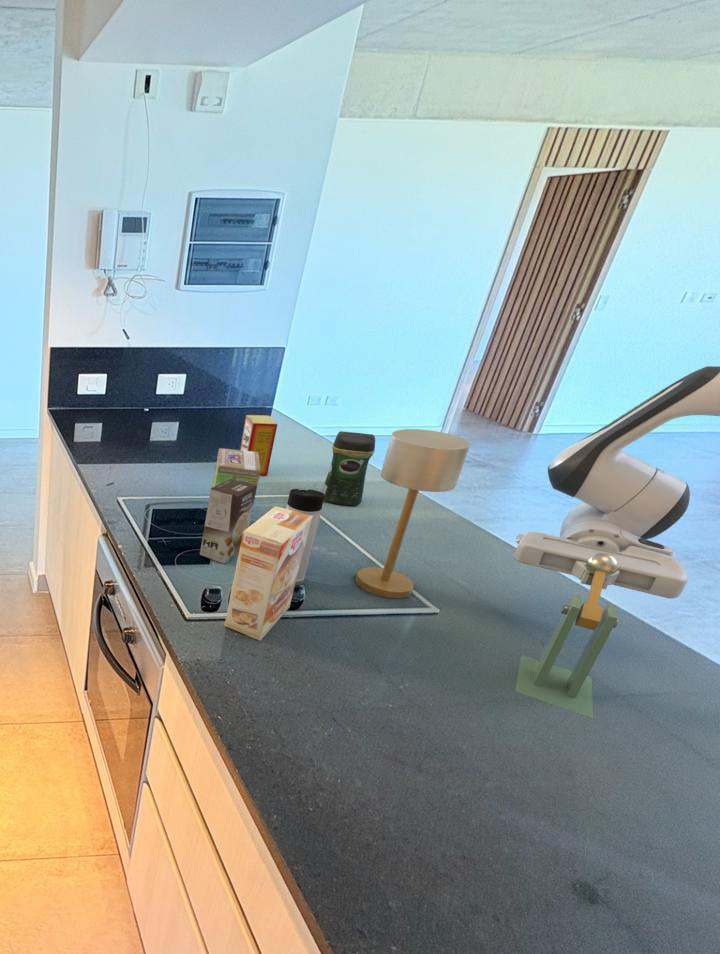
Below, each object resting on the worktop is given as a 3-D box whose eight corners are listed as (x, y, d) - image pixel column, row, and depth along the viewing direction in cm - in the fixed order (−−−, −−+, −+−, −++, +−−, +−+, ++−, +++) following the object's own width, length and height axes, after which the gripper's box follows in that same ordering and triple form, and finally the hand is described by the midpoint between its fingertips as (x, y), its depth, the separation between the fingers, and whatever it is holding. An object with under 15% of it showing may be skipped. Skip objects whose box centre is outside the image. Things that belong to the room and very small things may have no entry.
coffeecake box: (260, 642, 108) (283, 543, 99) (222, 626, 112) (240, 530, 104) (291, 607, 118) (314, 515, 109) (255, 594, 122) (274, 504, 113)
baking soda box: (237, 464, 190) (246, 413, 183) (259, 465, 190) (269, 414, 182) (244, 475, 182) (253, 422, 175) (266, 476, 181) (277, 423, 174)
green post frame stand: (517, 660, 103) (555, 579, 96) (588, 683, 98) (633, 599, 91) (512, 698, 95) (553, 612, 88) (589, 724, 90) (639, 636, 83)
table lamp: (389, 569, 131) (434, 427, 117) (431, 598, 121) (487, 447, 107) (337, 573, 130) (377, 430, 116) (376, 603, 119) (425, 450, 105)
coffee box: (225, 565, 133) (238, 496, 126) (198, 555, 137) (209, 488, 130) (245, 551, 139) (258, 484, 132) (218, 542, 143) (230, 477, 136)
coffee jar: (359, 498, 166) (378, 431, 158) (360, 508, 160) (380, 439, 151) (320, 492, 170) (336, 426, 161) (319, 502, 163) (336, 435, 155)
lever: (584, 559, 97) (593, 545, 94) (615, 566, 95) (624, 552, 92) (566, 625, 92) (575, 612, 89) (598, 634, 90) (608, 621, 87)
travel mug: (274, 586, 125) (295, 495, 116) (267, 570, 131) (287, 483, 122) (307, 589, 124) (330, 497, 115) (298, 572, 130) (320, 484, 121)
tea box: (250, 526, 150) (261, 469, 144) (207, 521, 153) (216, 465, 146) (249, 503, 163) (259, 450, 156) (209, 499, 166) (218, 446, 159)
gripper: (523, 517, 109) (518, 544, 99) (687, 550, 97) (698, 585, 87) (510, 548, 111) (504, 578, 102) (668, 585, 100) (677, 622, 90)
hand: (595, 582), depth 95 cm, fingers closed, pressing on lever
